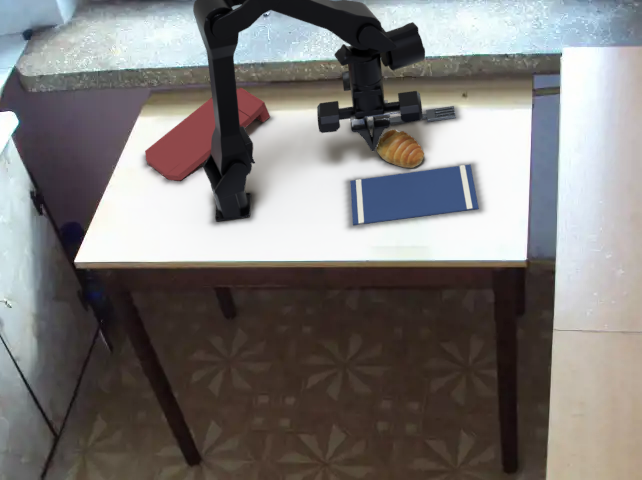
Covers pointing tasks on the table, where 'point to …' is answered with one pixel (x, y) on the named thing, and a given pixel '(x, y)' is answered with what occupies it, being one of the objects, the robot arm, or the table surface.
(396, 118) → the fork
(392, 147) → the pastry
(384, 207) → the napkin
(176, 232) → the table surface
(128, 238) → the table surface
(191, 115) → the red angular block
